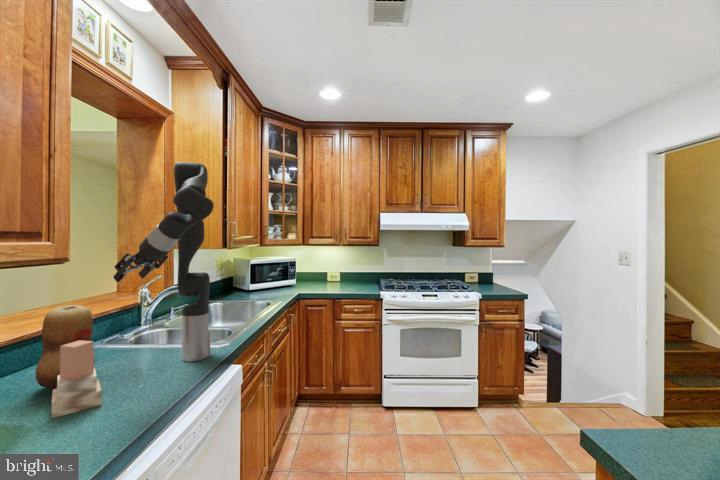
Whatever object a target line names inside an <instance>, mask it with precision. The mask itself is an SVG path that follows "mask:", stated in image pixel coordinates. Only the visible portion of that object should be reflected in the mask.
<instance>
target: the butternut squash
mask: <svg viewBox="0 0 720 480" xmlns="http://www.w3.org/2000/svg"><path fill="white" fill-rule="evenodd" d="M93 321H94V319H93V313H92V311H91V309H90V308H88V307H86V306H83V305H78V304H70V305H62V306H61V305H60V306H58V307H55V308H52V309H51V310H49V311H48V313H47V314H46V315H45V317H44V319H43V322H42V327H41V342H42V343H41V344H42V353H41V356H40V358H39V361H38V362H37V366H36V369H35V380H36V381H37V384H38V385H39V386H40V387H42V388H45V389H48V390H49V389H51V390H53V389H57V378H58V375H60V346H62V345H65V344H69V343H72V342H75V341H79V340H82V341H91V338H92V337H93V333H94V331H93V327H94V326H93V325H94V324H93ZM95 359H96V358H95V357H94V363H95Z"/></svg>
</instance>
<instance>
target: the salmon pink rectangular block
mask: <svg viewBox="0 0 720 480" xmlns="http://www.w3.org/2000/svg"><path fill="white" fill-rule="evenodd" d="M94 344H95V342H94V341H93V340H90V341H82V340H79V341H75V342H72V343H69V344H65V345H62V346H60V379H67V380H77V379H80V378H82V377H85V376H87V375H90V374H92V373H94V368H95V362H94V358H95V349H94V348H95V345H94Z"/></svg>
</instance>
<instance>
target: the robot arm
mask: <svg viewBox="0 0 720 480" xmlns="http://www.w3.org/2000/svg"><path fill="white" fill-rule="evenodd" d="M208 176H209V175H208V169H207V167H206V165H205V164H203V163H199V162H186V161H177V162H175V163H174V165H173V179H174V189H175V191H174V192H175V194H174V196H173V204H174V205H175V207H176V211H170V212H168V213H167V214H166V215H165V216H164V217H163V218H162V220H160V222H159V223H158V225H156V226H155V227H154V228H153V229H152V230H151V231H150V232H149V234H147V236H146V237H145V238H144V239H143V240H142V242H141V243H140V244H139V247H138V251H137V252H136V253H135V254H134V255H132V254H130V253H126V254H124V256H123V257H122V258H120V260H119V261H118V262H117V263H116V264H115V265H114V269H115V270H116V271H117V272H115V274H114V275H113V280H115V282H117V283H119V282H121V281H122V280H123V279H124V278H125V277H126V276H127V274H129V273H130V272H132V271H136V270H138V269H140V268H141V267H142V269H141V270H140V271H139V272H138V276H139V277H140V278H141V279H144V278H146V277H147V276H148V274H150V273H151V271H154V270H155V269H157V270H158V269H160V268H161V267H162V265H163V264H164V263H165V262H166V260H167V259H168V258H169V256H168V254H169V253H170V252H171V251H172V250H173V248H175V246H176V245H177V253H178V256H177V257H178V261H177V262H178V267H177V292H178V295H179V296H180V297H183V298H184V297H198V300H196V301H195V302H193V303H190V304H187V305H184V306H183V308H182V309H181V314H182V315H181V317H182V319H181V322H182V323H181V326H182V327H181V359H182V361H184V362H197V361H201V360H204V359H207V358H208V357H211V332H210V331H209V330H210V328H209V326H210V324H209V323H210V321H209V315H210V314H209V313H210V311H209V310H210V309H209V308H210V307H209V305H210V302H209V301H210V289H211V288H210V287H211V285H210V284H211V281H210V275H209V273H208V272H204V271H203V272H190V271H189V270H190V264H191V262H192V260H193V258H194V257H195V255H196V253H197V252H198V250H199V249H200V248H201V246H202V245H203V243H204V241H205V223H204V220H205V219H206V218H208V217H209V216H210V215H211V213H212V212H213V211H214V207H215V206H214V205H215V204H214V203H213V200H212V199H210V198H208V197H207V194H206V188H207V185H208V179H209V178H208ZM133 264H134V265H133Z"/></svg>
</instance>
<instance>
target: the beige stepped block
mask: <svg viewBox="0 0 720 480" xmlns="http://www.w3.org/2000/svg"><path fill="white" fill-rule="evenodd" d="M97 377H98V376H97V372H96V368H95V367H94V373H92V374H90V375H87V376H85V377H82V378H80V379H77V380H67V379H60V375H58V378H57V388H56V389H55V388H52V393H51V396H52V397H51V419H54V418H59V417H62V416H65V415H68V414H73V413H77V412H81V411H84V410H87V409H91V408H95V407H98V406H102V387H101V383H100V379H99V378H97Z"/></svg>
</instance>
